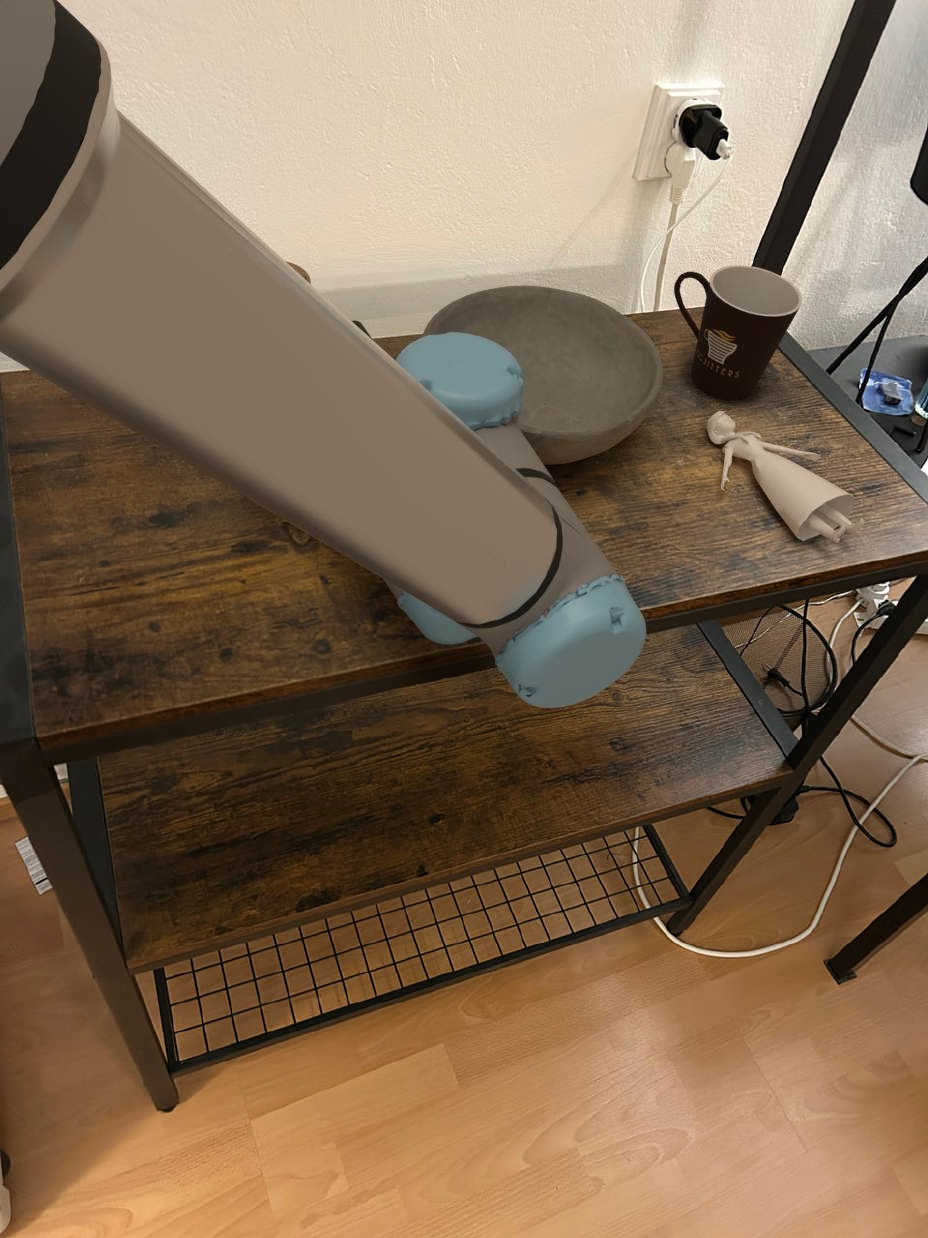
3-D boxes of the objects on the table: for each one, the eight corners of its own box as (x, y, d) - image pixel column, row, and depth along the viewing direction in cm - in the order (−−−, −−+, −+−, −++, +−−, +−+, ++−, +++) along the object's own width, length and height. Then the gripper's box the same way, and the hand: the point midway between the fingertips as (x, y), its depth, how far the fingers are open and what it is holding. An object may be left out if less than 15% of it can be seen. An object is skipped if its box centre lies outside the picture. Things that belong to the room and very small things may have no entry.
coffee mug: (781, 400, 96) (820, 310, 88) (707, 412, 93) (741, 321, 85) (720, 334, 102) (752, 245, 95) (650, 344, 100) (676, 253, 92)
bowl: (688, 471, 87) (715, 398, 81) (483, 528, 79) (497, 452, 73) (567, 341, 98) (583, 268, 92) (378, 380, 91) (382, 303, 85)
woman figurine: (806, 533, 76) (668, 411, 87) (788, 574, 79) (657, 452, 90) (909, 496, 81) (766, 385, 91) (888, 537, 84) (752, 425, 94)
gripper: (249, 541, 69) (144, 363, 82) (476, 473, 77) (349, 319, 89) (242, 461, 64) (131, 281, 76) (488, 395, 71) (351, 242, 83)
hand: (249, 302), depth 82 cm, fingers closed on tea tin, 6 cm apart
